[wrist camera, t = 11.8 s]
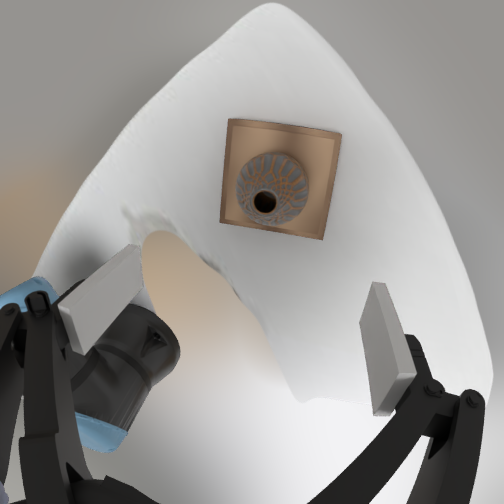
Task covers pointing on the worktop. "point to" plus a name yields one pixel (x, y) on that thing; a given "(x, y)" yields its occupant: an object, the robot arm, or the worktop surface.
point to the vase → (272, 188)
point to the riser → (296, 146)
